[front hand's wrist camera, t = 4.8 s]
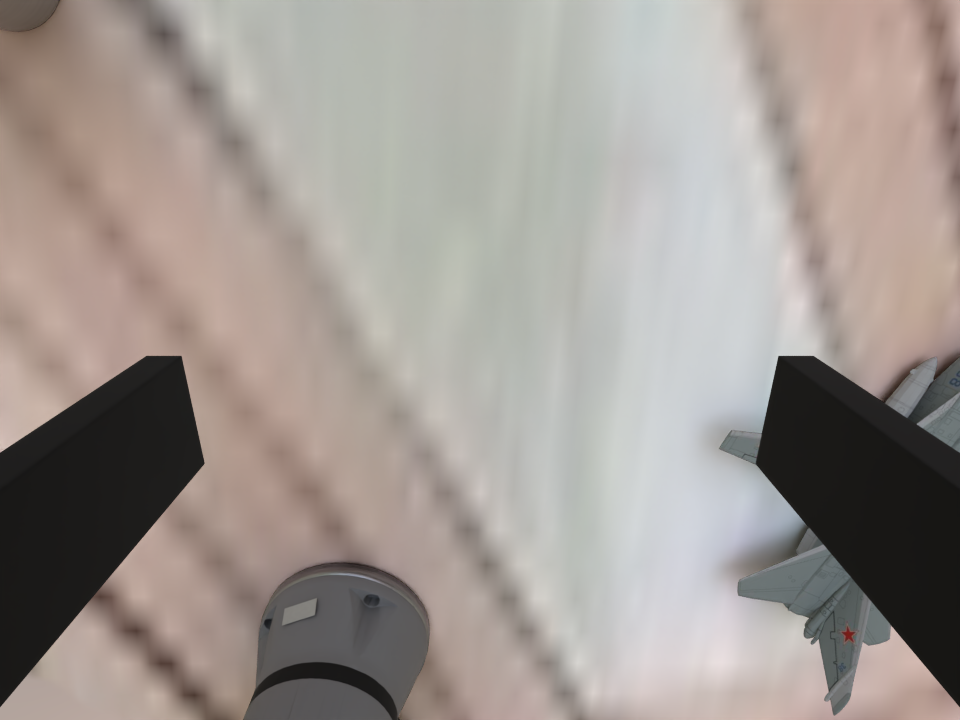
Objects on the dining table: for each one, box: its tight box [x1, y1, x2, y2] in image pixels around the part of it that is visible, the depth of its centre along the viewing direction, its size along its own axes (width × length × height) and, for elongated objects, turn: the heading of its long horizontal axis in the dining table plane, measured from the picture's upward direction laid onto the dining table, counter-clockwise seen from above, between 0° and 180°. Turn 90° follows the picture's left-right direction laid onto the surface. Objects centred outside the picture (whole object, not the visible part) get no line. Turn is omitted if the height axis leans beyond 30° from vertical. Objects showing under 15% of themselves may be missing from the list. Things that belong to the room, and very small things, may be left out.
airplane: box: [719, 357, 960, 715], centre depth 40 cm, size 38×31×10 cm
